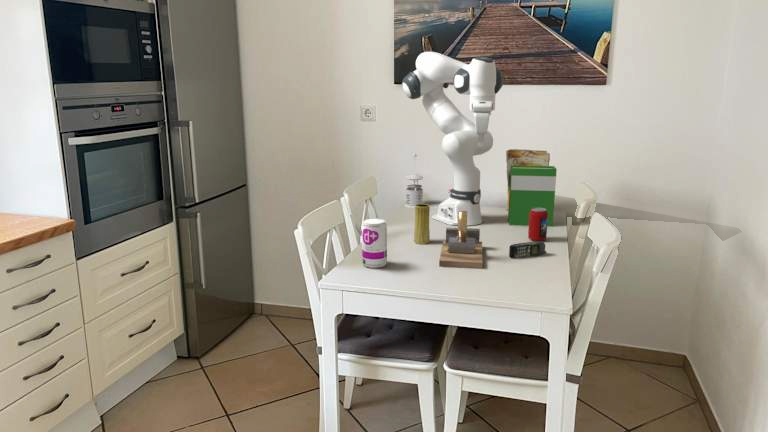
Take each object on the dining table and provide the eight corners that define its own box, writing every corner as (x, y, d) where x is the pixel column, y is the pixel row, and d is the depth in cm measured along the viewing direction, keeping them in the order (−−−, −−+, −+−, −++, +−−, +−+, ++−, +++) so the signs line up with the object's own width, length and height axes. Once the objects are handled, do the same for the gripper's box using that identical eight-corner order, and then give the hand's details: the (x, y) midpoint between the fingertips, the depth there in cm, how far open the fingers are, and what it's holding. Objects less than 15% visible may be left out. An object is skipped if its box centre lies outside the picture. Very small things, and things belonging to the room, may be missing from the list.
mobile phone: (512, 246, 196) (549, 240, 201) (507, 243, 199) (544, 238, 204) (512, 260, 198) (549, 254, 202) (507, 257, 200) (544, 252, 205)
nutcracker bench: (443, 245, 213) (443, 226, 212) (481, 246, 211) (482, 228, 209) (439, 266, 190) (439, 246, 189) (482, 268, 188) (482, 248, 186)
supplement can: (378, 270, 187) (378, 225, 183) (357, 265, 191) (356, 222, 188) (391, 263, 194) (391, 220, 190) (370, 259, 198) (370, 216, 194)
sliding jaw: (449, 247, 203) (450, 209, 200) (474, 248, 202) (476, 210, 198) (448, 252, 197) (449, 213, 194) (474, 253, 196) (476, 214, 193)
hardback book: (509, 225, 241) (511, 168, 235) (508, 220, 248) (510, 165, 242) (552, 226, 238) (556, 169, 232) (550, 222, 245) (554, 166, 239)
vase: (432, 240, 219) (432, 204, 215) (426, 245, 213) (427, 207, 210) (417, 239, 221) (417, 202, 218) (411, 243, 216) (411, 206, 212)
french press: (402, 207, 272) (402, 155, 265) (405, 202, 283) (406, 151, 277) (423, 208, 270) (424, 155, 264) (425, 203, 281) (426, 152, 275)
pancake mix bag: (504, 207, 271) (507, 148, 264) (546, 210, 265) (550, 150, 258) (502, 210, 265) (505, 150, 258) (545, 214, 259) (549, 152, 252)
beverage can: (546, 242, 216) (548, 211, 213) (528, 241, 217) (530, 210, 214) (545, 237, 222) (547, 207, 219) (527, 236, 224) (529, 206, 221)
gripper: (473, 103, 212) (472, 141, 215) (472, 106, 192) (471, 148, 196) (490, 103, 211) (489, 141, 214) (491, 106, 191) (490, 148, 195)
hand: (480, 144), depth 205 cm, fingers open, 8 cm apart
